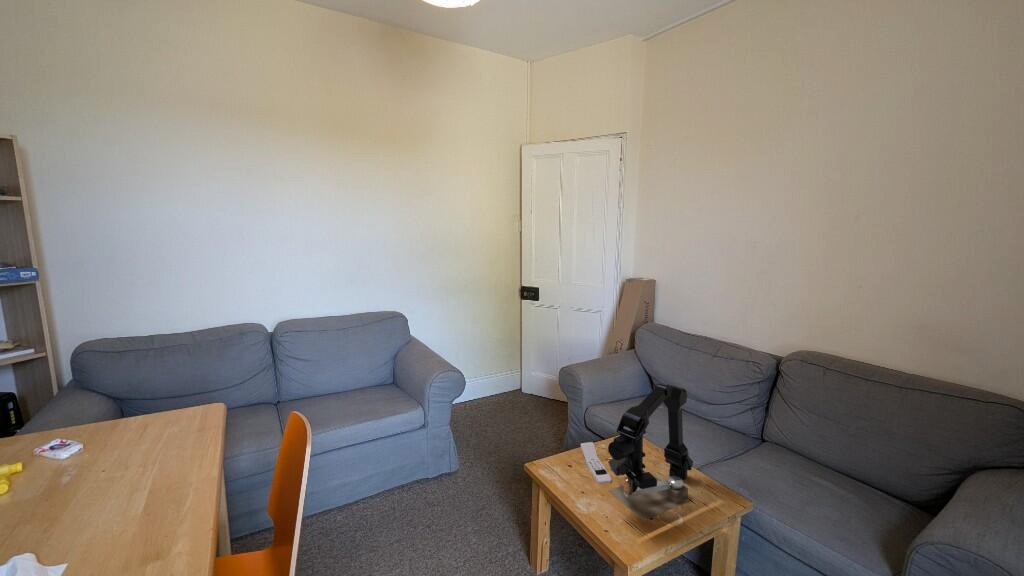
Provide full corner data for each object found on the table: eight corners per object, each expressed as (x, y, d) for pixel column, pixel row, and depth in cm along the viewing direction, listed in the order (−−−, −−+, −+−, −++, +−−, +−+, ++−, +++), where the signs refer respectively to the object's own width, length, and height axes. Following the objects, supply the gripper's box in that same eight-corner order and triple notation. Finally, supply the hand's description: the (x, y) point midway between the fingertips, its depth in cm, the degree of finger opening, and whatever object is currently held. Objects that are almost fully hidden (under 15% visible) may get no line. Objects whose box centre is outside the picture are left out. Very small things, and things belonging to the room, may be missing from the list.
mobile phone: (592, 441, 180) (614, 474, 156) (593, 454, 181) (614, 489, 157) (579, 442, 180) (599, 476, 155) (579, 455, 180) (599, 491, 156)
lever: (676, 480, 152) (677, 464, 151) (685, 488, 147) (686, 472, 146) (620, 491, 146) (620, 475, 145) (627, 500, 141) (628, 484, 140)
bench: (651, 477, 163) (652, 464, 162) (689, 503, 147) (690, 489, 147) (607, 494, 153) (608, 481, 152) (643, 525, 137) (644, 509, 137)
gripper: (599, 439, 145) (599, 480, 147) (626, 467, 128) (626, 514, 130) (627, 434, 148) (627, 475, 150) (658, 461, 130) (657, 507, 132)
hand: (633, 491), depth 140 cm, fingers closed
